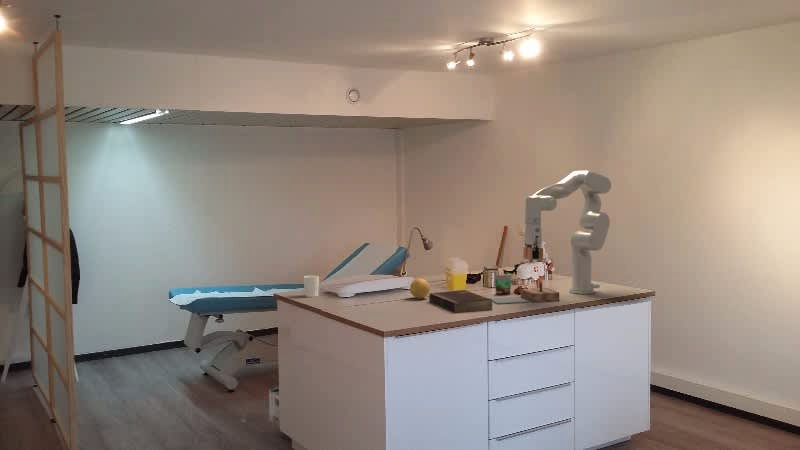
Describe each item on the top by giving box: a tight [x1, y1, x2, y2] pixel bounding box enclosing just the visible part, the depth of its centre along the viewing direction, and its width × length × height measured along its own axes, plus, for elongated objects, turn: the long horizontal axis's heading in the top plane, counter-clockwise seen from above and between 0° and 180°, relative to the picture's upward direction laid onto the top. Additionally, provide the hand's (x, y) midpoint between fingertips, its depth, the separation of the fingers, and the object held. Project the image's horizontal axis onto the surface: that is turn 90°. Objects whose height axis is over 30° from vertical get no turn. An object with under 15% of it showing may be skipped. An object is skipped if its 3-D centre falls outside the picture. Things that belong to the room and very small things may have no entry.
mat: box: [489, 296, 530, 305], centre depth 350 cm, size 16×13×1 cm
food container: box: [494, 272, 513, 296], centre depth 371 cm, size 12×6×10 cm, turn 143°
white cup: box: [303, 274, 320, 298], centre depth 368 cm, size 8×8×10 cm
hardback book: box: [428, 289, 493, 314], centre depth 340 cm, size 29×19×5 cm, turn 21°
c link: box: [522, 246, 544, 261], centre depth 352 cm, size 7×7×6 cm
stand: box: [520, 281, 560, 303], centre depth 355 cm, size 14×14×8 cm
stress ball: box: [409, 277, 431, 300], centre depth 359 cm, size 10×10×10 cm
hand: (532, 257), depth 352 cm, fingers closed on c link, 7 cm apart
